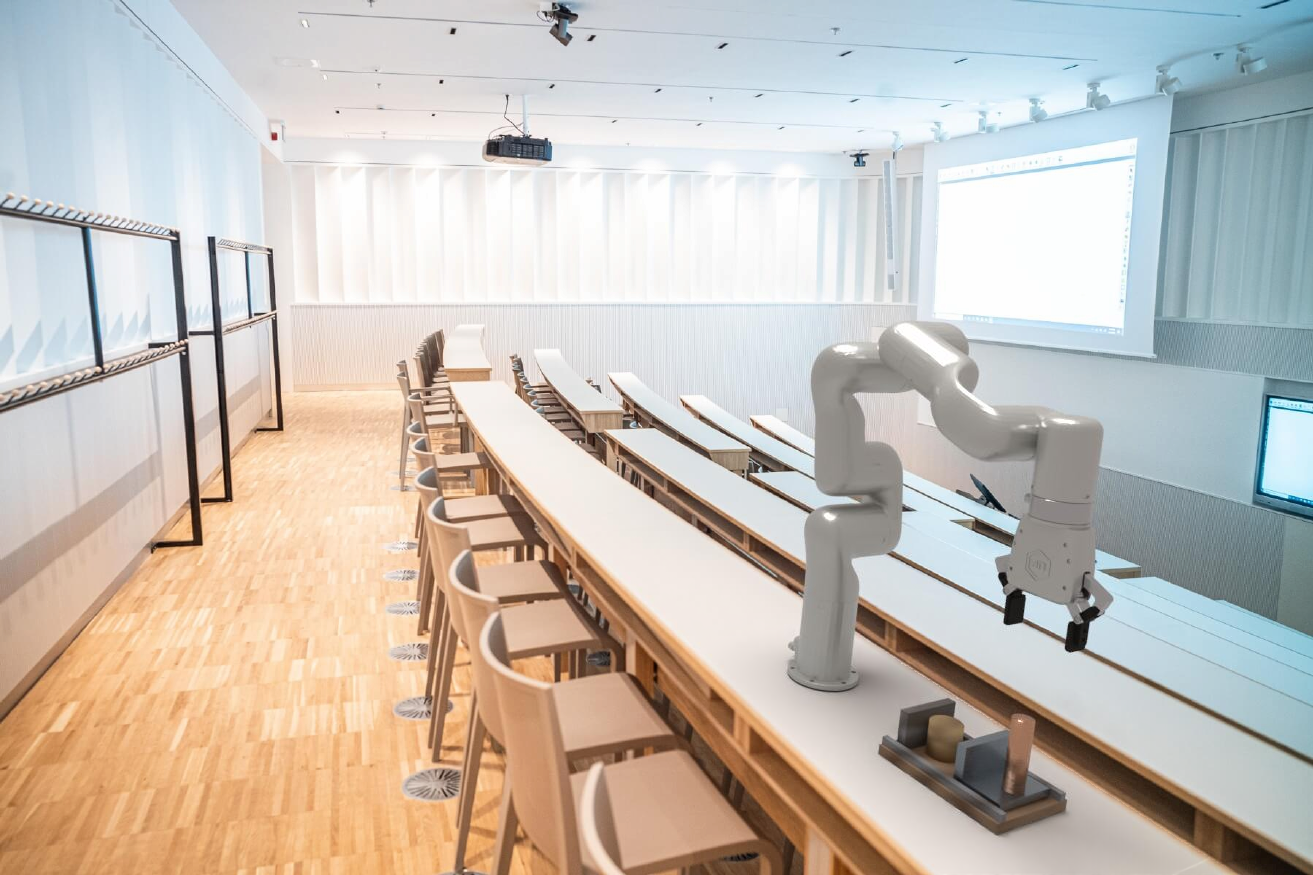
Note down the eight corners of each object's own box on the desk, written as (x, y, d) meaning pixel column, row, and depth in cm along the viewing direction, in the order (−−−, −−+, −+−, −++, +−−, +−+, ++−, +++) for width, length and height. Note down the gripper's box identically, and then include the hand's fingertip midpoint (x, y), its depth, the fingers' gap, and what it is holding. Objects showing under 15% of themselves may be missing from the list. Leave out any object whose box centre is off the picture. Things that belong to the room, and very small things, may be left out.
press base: (878, 753, 138) (883, 707, 136) (944, 735, 145) (950, 691, 143) (996, 834, 119) (1003, 782, 118) (1065, 809, 126) (1073, 759, 125)
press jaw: (952, 782, 128) (963, 705, 126) (1001, 767, 133) (1012, 693, 131) (998, 813, 121) (1010, 732, 119) (1048, 796, 126) (1060, 718, 124)
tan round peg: (918, 749, 137) (922, 718, 136) (941, 742, 139) (945, 712, 138) (943, 765, 132) (947, 733, 132) (967, 758, 135) (971, 727, 134)
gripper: (986, 497, 124) (971, 617, 126) (1101, 530, 109) (1081, 666, 111) (1024, 493, 127) (1009, 611, 130) (1140, 526, 112) (1120, 657, 115)
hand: (1042, 636), depth 121 cm, fingers open, 9 cm apart
